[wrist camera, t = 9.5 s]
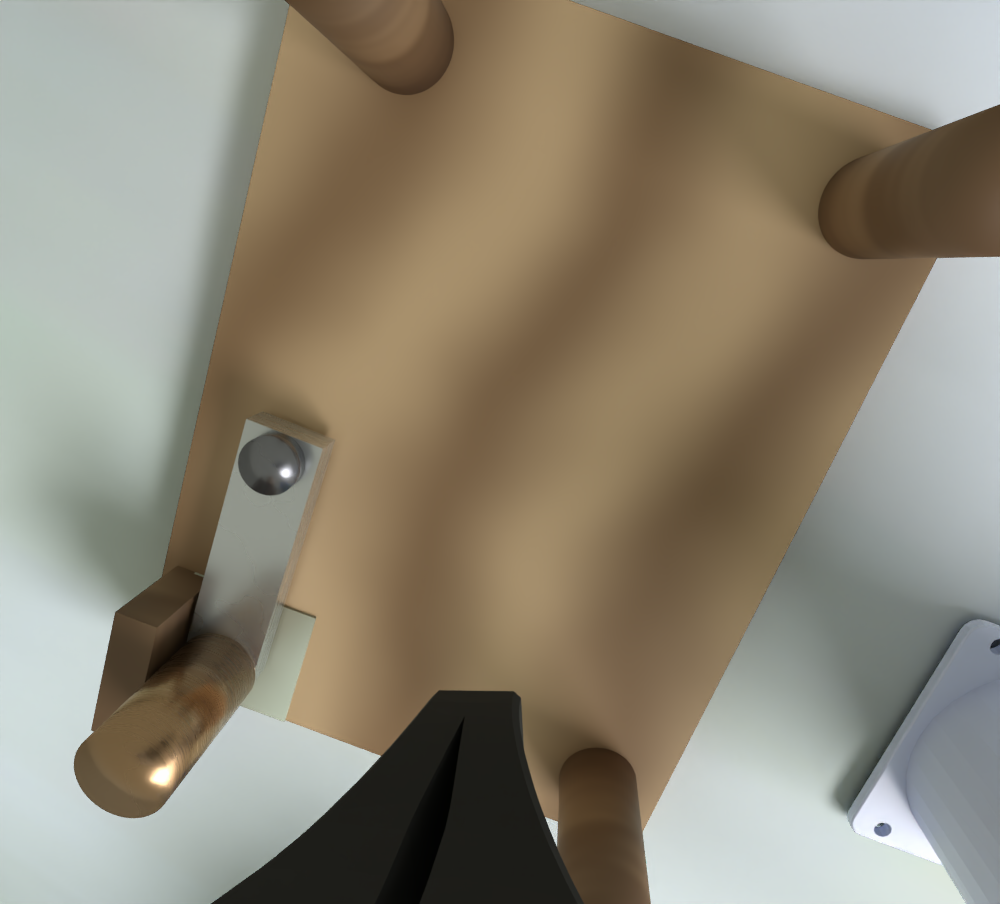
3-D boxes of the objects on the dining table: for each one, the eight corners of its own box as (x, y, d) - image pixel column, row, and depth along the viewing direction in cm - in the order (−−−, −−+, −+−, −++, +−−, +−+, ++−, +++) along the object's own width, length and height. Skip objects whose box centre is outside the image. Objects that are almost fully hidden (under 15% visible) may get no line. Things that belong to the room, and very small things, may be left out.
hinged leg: (259, 410, 19) (141, 463, 14) (338, 440, 19) (249, 506, 14) (188, 668, 22) (65, 795, 17) (258, 696, 22) (158, 832, 17)
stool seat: (964, 158, 17) (1208, 92, 11) (630, 820, 24) (651, 1044, 17) (328, -69, 18) (174, -276, 11) (163, 647, 24) (-1, 797, 17)
